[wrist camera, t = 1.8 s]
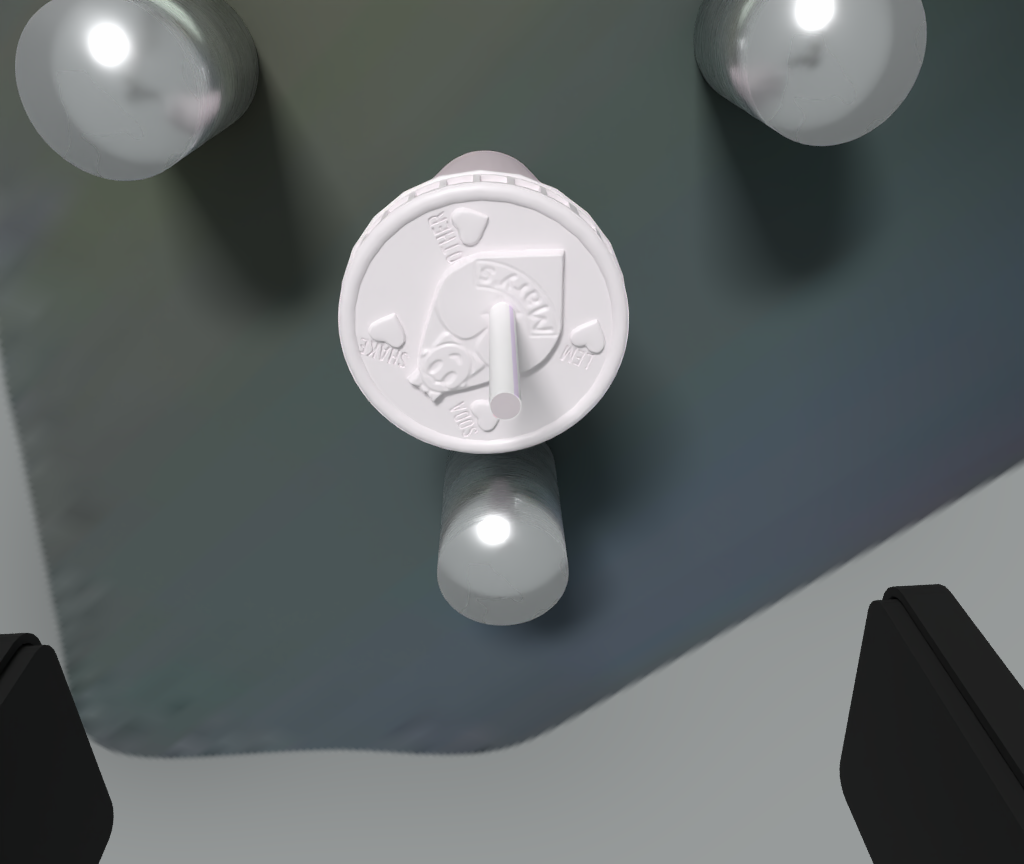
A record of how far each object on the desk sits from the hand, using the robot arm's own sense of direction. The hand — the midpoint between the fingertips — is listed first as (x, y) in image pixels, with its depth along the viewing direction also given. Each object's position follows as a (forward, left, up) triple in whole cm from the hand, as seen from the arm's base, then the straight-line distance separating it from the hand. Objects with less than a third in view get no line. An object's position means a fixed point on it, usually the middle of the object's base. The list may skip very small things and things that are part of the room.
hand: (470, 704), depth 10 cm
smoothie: (0, 0, -20) cm, 20 cm away
